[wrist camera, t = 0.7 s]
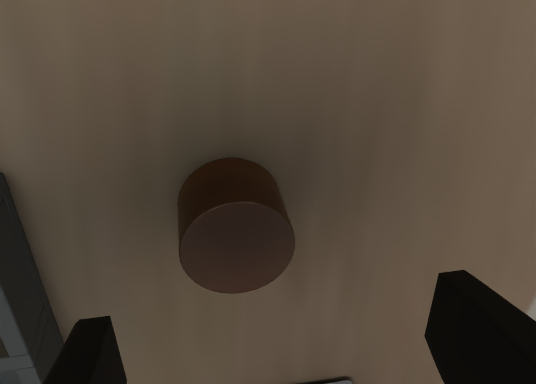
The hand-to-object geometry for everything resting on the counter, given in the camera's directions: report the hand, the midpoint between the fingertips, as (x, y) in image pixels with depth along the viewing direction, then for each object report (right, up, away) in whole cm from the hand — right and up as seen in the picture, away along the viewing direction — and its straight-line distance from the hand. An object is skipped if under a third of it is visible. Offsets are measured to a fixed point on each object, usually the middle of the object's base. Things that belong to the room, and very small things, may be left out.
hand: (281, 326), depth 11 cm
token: (-2, +3, +8) cm, 9 cm away
